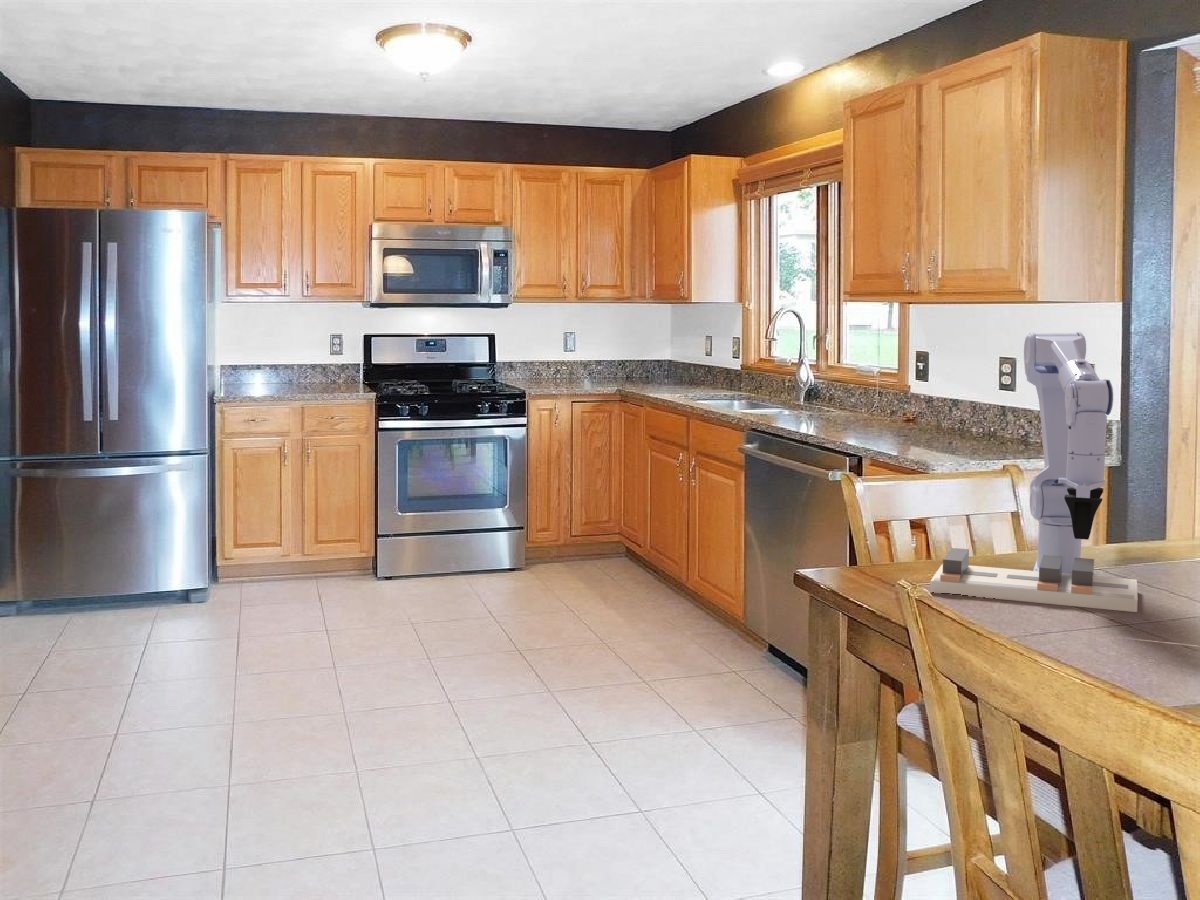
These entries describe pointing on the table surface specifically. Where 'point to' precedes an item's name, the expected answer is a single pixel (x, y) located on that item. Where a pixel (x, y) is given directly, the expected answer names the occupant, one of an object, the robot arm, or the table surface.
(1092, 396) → the robot arm
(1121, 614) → the table surface
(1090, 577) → the slider
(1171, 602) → the table surface
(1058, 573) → the slider middle
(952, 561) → the slider
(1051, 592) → the switch panel
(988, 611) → the table surface
